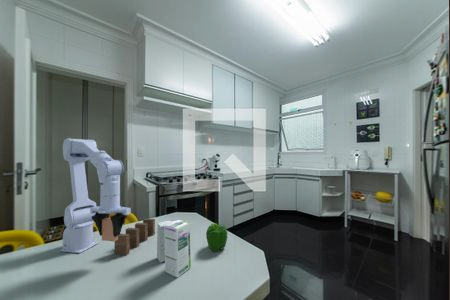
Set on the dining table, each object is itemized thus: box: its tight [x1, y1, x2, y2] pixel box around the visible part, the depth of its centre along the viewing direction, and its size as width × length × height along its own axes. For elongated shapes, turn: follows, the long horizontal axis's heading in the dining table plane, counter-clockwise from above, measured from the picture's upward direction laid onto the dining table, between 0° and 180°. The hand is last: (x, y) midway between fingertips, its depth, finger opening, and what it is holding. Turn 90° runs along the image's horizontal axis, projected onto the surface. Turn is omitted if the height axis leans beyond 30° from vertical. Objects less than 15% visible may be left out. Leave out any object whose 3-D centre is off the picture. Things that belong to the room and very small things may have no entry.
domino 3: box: [125, 227, 140, 249], centre depth 71 cm, size 2×5×7 cm, turn 79°
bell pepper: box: [205, 222, 228, 252], centre depth 69 cm, size 8×8×10 cm
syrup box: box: [164, 219, 192, 278], centre depth 56 cm, size 6×6×14 cm
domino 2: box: [114, 233, 130, 257], centre depth 66 cm, size 2×5×7 cm, turn 79°
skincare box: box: [156, 219, 176, 263], centre depth 63 cm, size 6×4×12 cm
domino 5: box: [142, 218, 156, 237], centre depth 82 cm, size 2×5×7 cm, turn 79°
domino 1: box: [101, 217, 118, 242], centre depth 61 cm, size 2×5×7 cm, turn 80°
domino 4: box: [134, 222, 149, 242], centre depth 77 cm, size 2×5×7 cm, turn 79°
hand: (110, 234), depth 61 cm, fingers closed on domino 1, 5 cm apart
